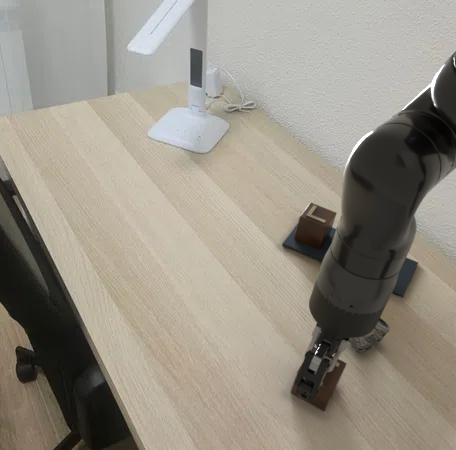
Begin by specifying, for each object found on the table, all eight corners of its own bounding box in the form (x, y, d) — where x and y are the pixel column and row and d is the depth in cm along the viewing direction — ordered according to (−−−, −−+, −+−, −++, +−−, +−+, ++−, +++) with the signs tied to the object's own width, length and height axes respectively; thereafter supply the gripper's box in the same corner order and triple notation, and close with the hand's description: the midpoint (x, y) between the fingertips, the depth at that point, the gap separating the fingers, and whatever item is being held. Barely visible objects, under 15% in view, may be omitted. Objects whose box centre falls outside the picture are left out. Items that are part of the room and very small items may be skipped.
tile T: (337, 385, 72) (347, 362, 69) (324, 411, 69) (334, 388, 66) (304, 368, 74) (312, 344, 71) (290, 392, 71) (298, 369, 68)
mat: (417, 264, 90) (418, 262, 90) (402, 297, 84) (403, 296, 84) (303, 217, 98) (303, 215, 98) (282, 245, 92) (282, 243, 92)
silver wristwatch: (388, 344, 78) (400, 321, 74) (357, 362, 75) (367, 339, 72) (370, 326, 80) (380, 304, 76) (338, 343, 77) (347, 320, 74)
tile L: (329, 235, 94) (337, 211, 91) (319, 250, 91) (326, 226, 88) (304, 224, 96) (310, 201, 93) (293, 239, 93) (299, 215, 90)
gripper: (366, 346, 53) (325, 431, 63) (407, 261, 62) (365, 348, 72) (293, 310, 56) (266, 397, 66) (342, 234, 65) (311, 321, 75)
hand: (317, 371), depth 69 cm, fingers open, 8 cm apart
